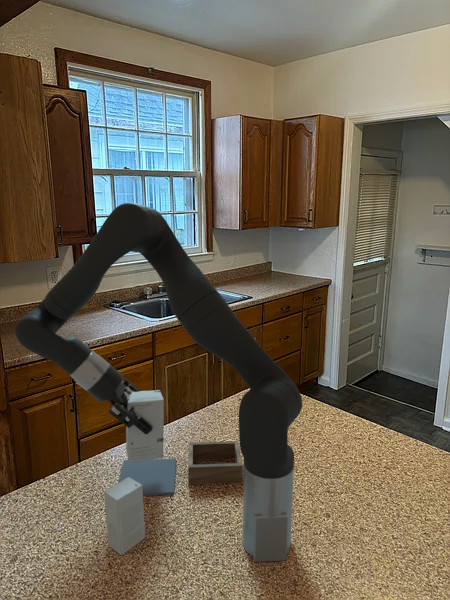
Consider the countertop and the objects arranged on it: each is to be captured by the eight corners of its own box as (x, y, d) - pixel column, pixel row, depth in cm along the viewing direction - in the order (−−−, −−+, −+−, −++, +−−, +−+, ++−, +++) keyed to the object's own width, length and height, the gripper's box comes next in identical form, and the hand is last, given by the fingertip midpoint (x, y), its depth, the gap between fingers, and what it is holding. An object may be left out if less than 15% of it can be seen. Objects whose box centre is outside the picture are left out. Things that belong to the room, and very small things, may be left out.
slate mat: (173, 494, 101) (173, 492, 101) (115, 496, 100) (114, 494, 100) (176, 460, 113) (176, 458, 113) (123, 462, 112) (123, 460, 112)
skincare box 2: (128, 464, 101) (125, 403, 97) (126, 449, 107) (123, 391, 103) (165, 458, 103) (164, 399, 100) (161, 444, 109) (159, 387, 105)
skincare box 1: (131, 528, 91) (129, 475, 88) (146, 538, 88) (143, 484, 85) (106, 545, 86) (103, 491, 83) (120, 557, 83) (117, 501, 81)
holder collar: (242, 482, 105) (242, 465, 104) (188, 484, 104) (188, 467, 103) (238, 456, 115) (238, 440, 114) (189, 458, 114) (188, 442, 113)
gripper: (101, 378, 92) (160, 428, 96) (114, 353, 106) (165, 398, 110) (77, 402, 93) (136, 451, 97) (92, 374, 107) (143, 418, 111)
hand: (151, 422), depth 103 cm, fingers closed on skincare box 2, 6 cm apart
